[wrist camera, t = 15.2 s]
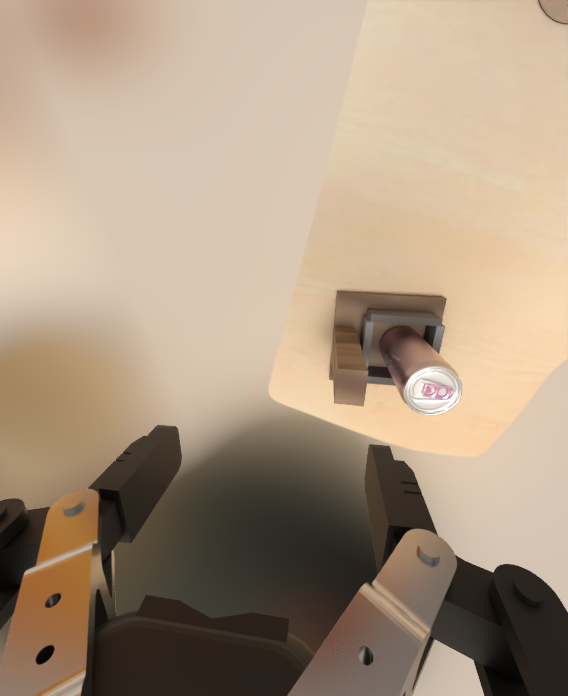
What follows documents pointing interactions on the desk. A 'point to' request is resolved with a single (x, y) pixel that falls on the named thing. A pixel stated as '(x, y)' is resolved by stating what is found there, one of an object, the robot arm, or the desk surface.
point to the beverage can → (420, 372)
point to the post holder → (375, 337)
